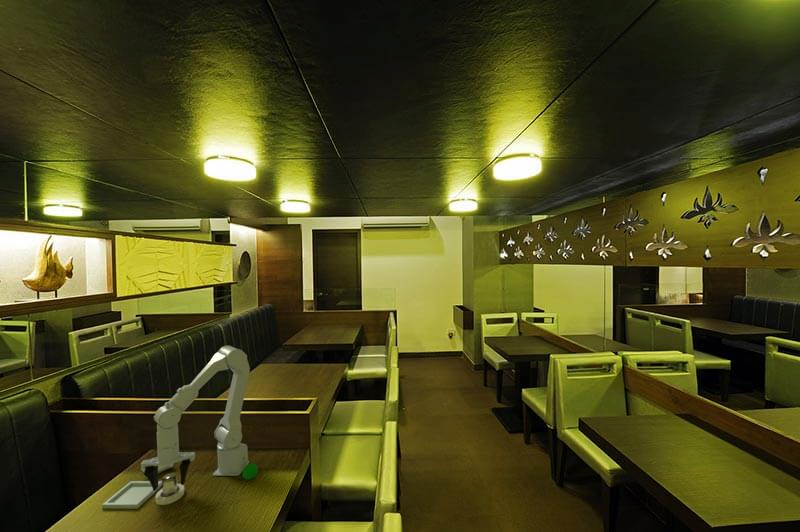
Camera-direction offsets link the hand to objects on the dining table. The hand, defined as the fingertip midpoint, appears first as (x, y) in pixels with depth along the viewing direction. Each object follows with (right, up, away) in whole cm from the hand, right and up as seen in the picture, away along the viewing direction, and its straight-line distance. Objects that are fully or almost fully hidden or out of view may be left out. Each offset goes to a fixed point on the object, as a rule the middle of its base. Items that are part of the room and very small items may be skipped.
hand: (169, 485), depth 111 cm
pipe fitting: (-14, -4, +14) cm, 20 cm away
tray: (-12, -4, 0) cm, 12 cm away
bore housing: (0, -4, 0) cm, 4 cm away
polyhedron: (+22, -3, +9) cm, 24 cm away
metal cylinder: (0, -4, 0) cm, 4 cm away
